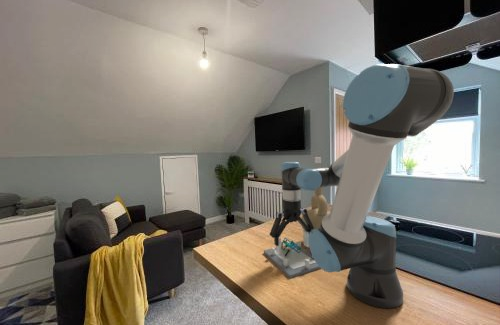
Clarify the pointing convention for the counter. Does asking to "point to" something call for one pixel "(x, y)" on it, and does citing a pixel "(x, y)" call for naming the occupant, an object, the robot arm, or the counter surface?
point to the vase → (317, 209)
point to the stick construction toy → (290, 246)
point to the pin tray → (293, 260)
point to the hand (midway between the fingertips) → (292, 249)
